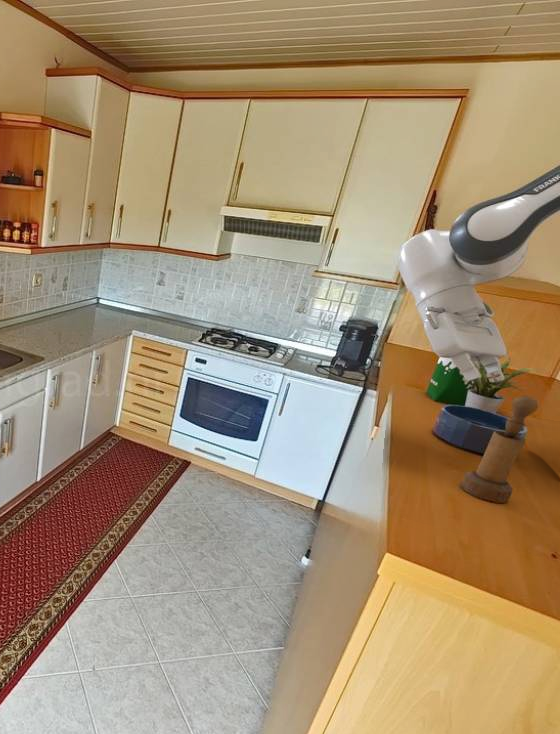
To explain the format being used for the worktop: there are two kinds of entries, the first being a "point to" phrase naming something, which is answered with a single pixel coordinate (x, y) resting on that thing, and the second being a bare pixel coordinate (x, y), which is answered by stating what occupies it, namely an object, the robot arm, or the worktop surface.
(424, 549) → the worktop surface
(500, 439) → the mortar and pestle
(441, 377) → the milk carton
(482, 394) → the house plant
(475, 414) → the bowl
